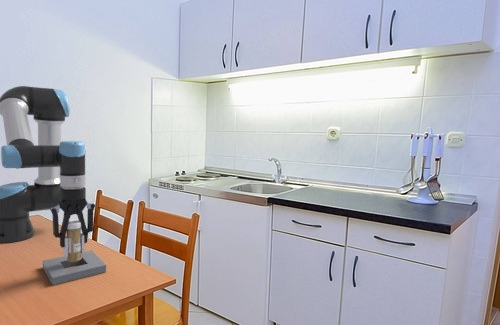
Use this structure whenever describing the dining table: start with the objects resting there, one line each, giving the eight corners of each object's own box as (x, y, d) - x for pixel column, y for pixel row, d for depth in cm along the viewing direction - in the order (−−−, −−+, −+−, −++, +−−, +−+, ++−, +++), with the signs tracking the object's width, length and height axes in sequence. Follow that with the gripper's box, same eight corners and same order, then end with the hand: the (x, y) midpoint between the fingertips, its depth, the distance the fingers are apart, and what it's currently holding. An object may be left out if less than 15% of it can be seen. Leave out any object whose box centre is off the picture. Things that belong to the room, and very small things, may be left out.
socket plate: (42, 267, 113) (42, 260, 112) (91, 256, 123) (91, 250, 123) (52, 285, 101) (52, 277, 100) (106, 271, 111) (106, 264, 111)
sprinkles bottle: (81, 261, 110) (80, 223, 109) (65, 263, 108) (65, 224, 107) (81, 256, 115) (81, 219, 113) (67, 258, 113) (66, 220, 111)
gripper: (45, 191, 100) (46, 264, 103) (103, 186, 112) (104, 251, 114) (40, 187, 106) (42, 256, 108) (96, 183, 118) (97, 245, 120)
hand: (74, 253), depth 111 cm, fingers closed on sprinkles bottle, 4 cm apart
